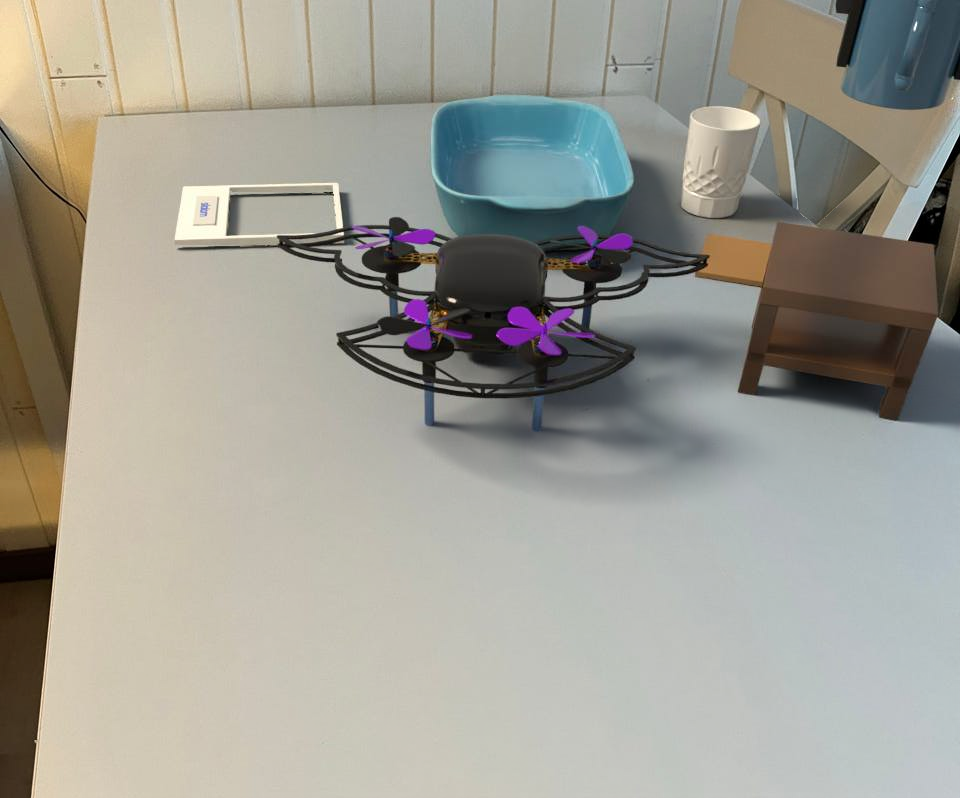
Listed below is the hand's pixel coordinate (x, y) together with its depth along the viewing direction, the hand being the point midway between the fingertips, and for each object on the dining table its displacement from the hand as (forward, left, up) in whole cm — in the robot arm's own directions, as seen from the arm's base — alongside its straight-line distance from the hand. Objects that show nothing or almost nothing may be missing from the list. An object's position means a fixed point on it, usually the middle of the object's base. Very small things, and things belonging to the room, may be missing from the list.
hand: (899, 68), depth 77 cm
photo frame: (+62, -10, -25) cm, 68 cm away
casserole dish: (+35, -25, -25) cm, 50 cm away
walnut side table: (-1, +2, -25) cm, 25 cm away
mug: (0, +1, -2) cm, 2 cm away
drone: (+28, +15, -25) cm, 40 cm away
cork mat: (+8, -18, -25) cm, 32 cm away
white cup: (+14, -32, -25) cm, 43 cm away
